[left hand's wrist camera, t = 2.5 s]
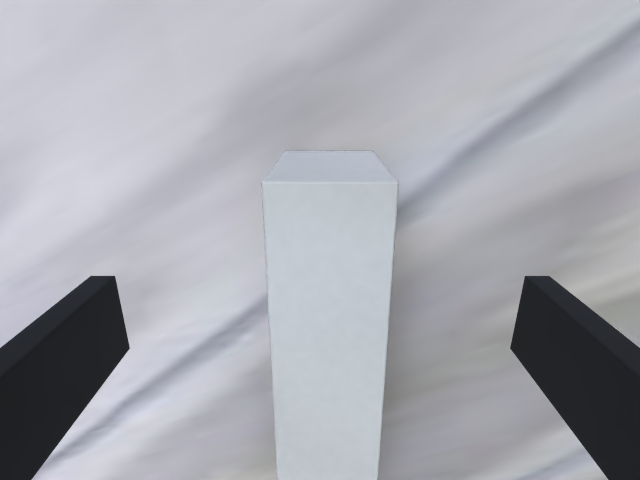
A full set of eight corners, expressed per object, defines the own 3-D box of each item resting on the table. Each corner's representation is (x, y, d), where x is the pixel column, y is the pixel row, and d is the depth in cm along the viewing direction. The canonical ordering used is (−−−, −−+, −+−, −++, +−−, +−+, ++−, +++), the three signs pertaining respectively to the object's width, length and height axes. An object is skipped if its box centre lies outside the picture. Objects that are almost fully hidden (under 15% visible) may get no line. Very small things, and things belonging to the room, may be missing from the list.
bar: (284, 150, 23) (261, 181, 15) (373, 150, 23) (399, 181, 14) (295, 492, 32) (284, 624, 24) (357, 493, 32) (367, 626, 24)
